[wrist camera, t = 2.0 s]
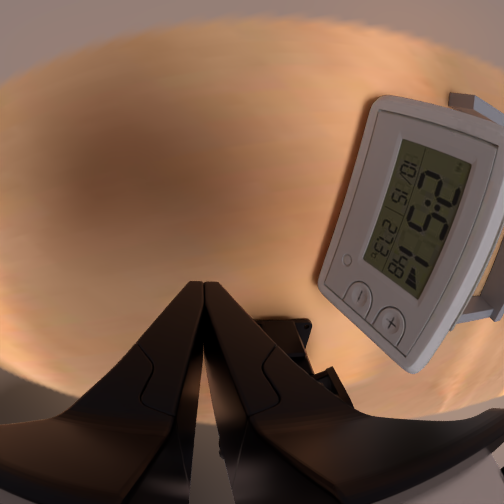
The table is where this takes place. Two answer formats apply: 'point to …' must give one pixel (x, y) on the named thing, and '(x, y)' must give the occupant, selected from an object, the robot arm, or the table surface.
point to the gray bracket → (500, 278)
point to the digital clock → (416, 225)
